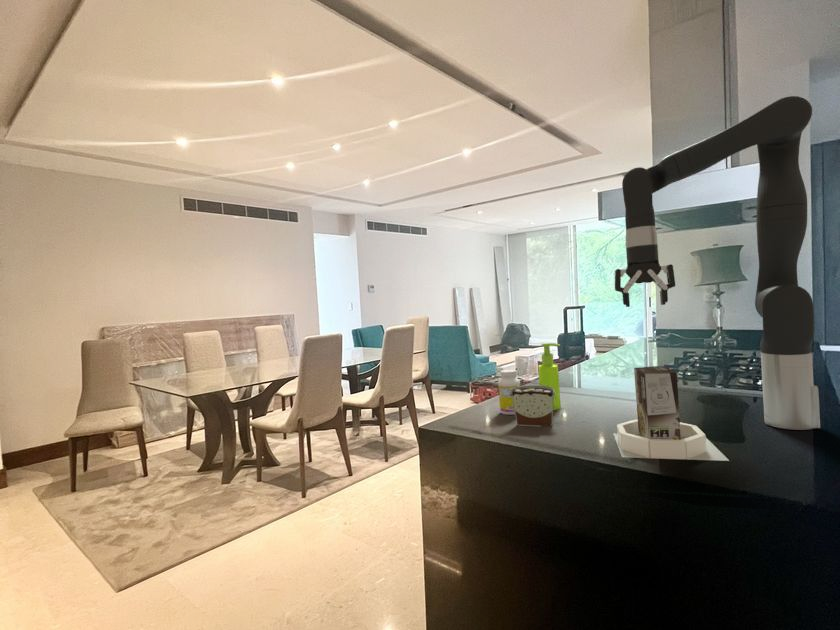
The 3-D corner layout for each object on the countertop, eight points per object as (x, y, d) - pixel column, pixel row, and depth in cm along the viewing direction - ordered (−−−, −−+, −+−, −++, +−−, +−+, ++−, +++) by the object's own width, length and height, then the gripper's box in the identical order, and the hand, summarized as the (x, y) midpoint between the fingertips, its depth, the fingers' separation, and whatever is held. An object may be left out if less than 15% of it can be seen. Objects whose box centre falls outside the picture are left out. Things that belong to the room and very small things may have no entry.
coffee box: (683, 449, 90) (678, 372, 89) (648, 449, 91) (644, 373, 91) (668, 435, 99) (664, 365, 98) (637, 435, 100) (633, 366, 100)
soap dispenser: (561, 410, 130) (556, 344, 130) (538, 409, 134) (534, 344, 134) (566, 406, 135) (561, 342, 135) (544, 404, 139) (539, 342, 138)
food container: (561, 421, 120) (558, 385, 120) (558, 427, 114) (555, 389, 114) (516, 419, 125) (514, 384, 125) (511, 425, 120) (509, 389, 119)
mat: (703, 436, 99) (703, 435, 99) (729, 462, 84) (729, 460, 84) (613, 435, 105) (613, 433, 105) (622, 458, 90) (622, 457, 90)
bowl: (691, 434, 100) (690, 419, 100) (714, 460, 85) (713, 442, 85) (615, 433, 105) (614, 419, 105) (624, 457, 90) (623, 440, 90)
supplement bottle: (508, 408, 137) (505, 368, 137) (526, 411, 133) (523, 369, 132) (495, 413, 133) (492, 371, 132) (514, 416, 128) (510, 373, 128)
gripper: (614, 246, 115) (618, 308, 115) (675, 240, 110) (679, 304, 111) (611, 249, 122) (614, 307, 122) (668, 243, 117) (671, 303, 118)
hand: (645, 305), depth 116 cm, fingers open, 8 cm apart
